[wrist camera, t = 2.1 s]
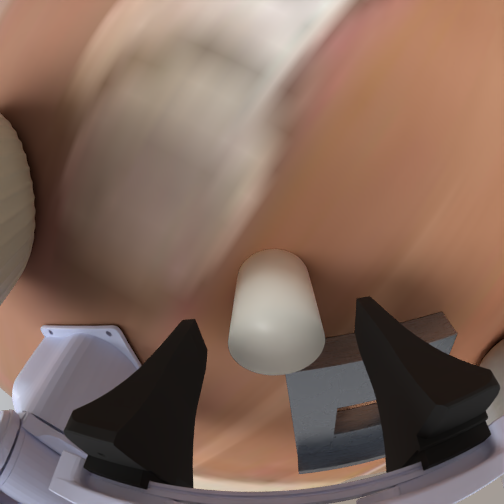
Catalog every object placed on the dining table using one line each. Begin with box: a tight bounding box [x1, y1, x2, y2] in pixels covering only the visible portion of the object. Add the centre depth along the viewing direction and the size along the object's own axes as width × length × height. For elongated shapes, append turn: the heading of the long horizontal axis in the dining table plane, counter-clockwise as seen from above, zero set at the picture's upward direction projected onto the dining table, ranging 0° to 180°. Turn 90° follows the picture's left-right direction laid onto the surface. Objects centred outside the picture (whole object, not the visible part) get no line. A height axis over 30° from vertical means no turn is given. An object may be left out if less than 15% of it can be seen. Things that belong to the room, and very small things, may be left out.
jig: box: [285, 312, 457, 474], centre depth 18 cm, size 12×16×4 cm
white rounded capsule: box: [228, 249, 325, 375], centre depth 13 cm, size 4×4×5 cm
